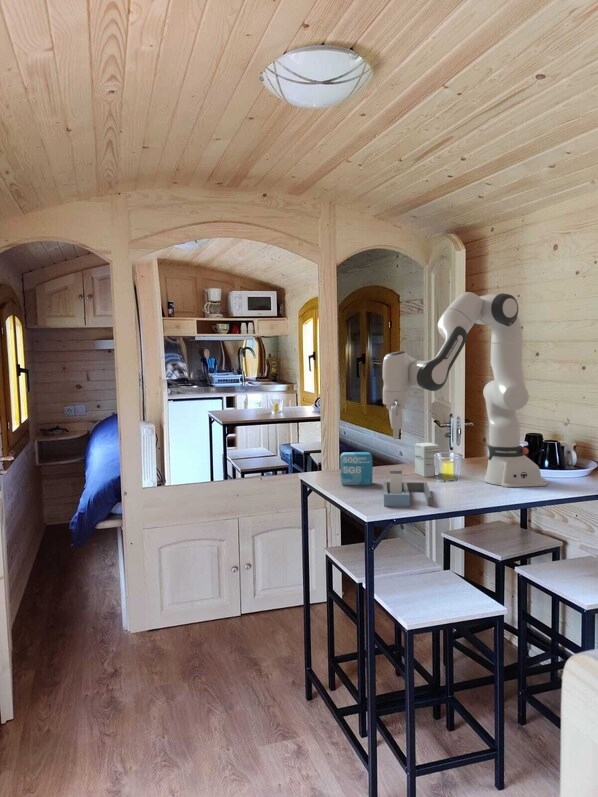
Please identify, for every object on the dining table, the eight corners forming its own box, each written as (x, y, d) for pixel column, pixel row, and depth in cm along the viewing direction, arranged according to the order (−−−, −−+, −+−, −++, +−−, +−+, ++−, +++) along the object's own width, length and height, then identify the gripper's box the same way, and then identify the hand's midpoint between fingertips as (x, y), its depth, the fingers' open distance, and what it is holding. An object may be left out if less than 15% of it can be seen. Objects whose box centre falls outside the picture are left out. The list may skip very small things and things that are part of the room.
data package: (341, 485, 231) (340, 454, 230) (340, 482, 235) (340, 452, 234) (372, 485, 230) (372, 454, 229) (371, 482, 235) (371, 451, 234)
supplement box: (414, 473, 248) (414, 443, 247) (430, 472, 251) (430, 442, 249) (423, 477, 241) (423, 446, 240) (439, 475, 244) (439, 444, 242)
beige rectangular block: (401, 496, 213) (401, 468, 212) (401, 499, 209) (401, 470, 208) (390, 496, 213) (389, 468, 212) (390, 499, 210) (390, 470, 209)
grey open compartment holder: (426, 490, 221) (426, 479, 220) (432, 507, 199) (432, 495, 198) (383, 489, 223) (383, 479, 222) (384, 506, 201) (384, 494, 200)
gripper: (406, 401, 197) (406, 443, 199) (403, 395, 218) (403, 433, 219) (386, 401, 198) (387, 443, 199) (385, 396, 218) (386, 433, 220)
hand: (396, 438), depth 209 cm, fingers closed
